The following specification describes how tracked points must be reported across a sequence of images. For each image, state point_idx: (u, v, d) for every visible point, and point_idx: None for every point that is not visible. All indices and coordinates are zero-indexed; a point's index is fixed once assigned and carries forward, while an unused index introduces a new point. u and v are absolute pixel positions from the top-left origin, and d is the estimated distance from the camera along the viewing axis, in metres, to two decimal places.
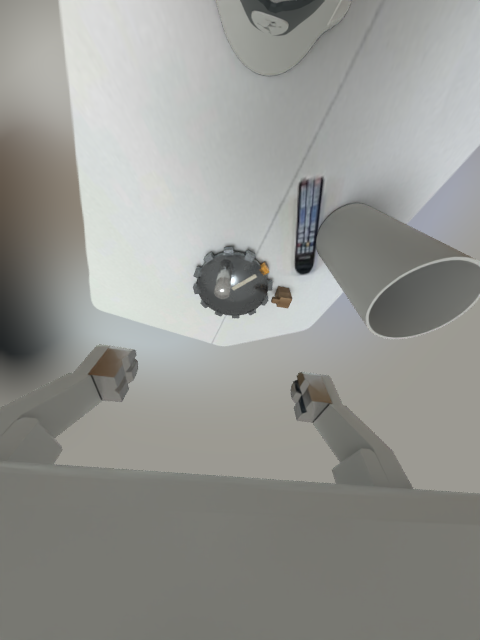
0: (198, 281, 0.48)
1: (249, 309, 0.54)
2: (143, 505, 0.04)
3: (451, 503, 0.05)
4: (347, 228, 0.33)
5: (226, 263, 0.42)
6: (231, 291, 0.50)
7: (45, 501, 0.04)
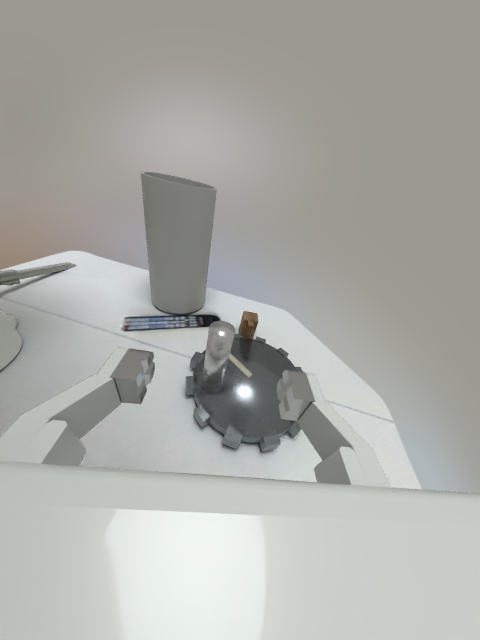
0: (249, 434, 0.24)
1: (278, 354, 0.36)
2: (143, 505, 0.04)
3: (451, 503, 0.05)
4: (156, 272, 0.38)
5: (202, 375, 0.27)
6: (255, 377, 0.31)
7: (45, 501, 0.04)
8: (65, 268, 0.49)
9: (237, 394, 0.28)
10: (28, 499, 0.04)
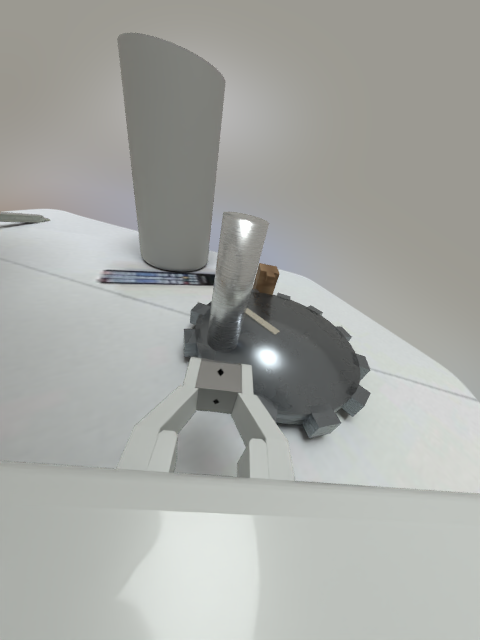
0: (289, 409, 0.15)
1: (310, 312, 0.27)
2: (143, 505, 0.04)
3: (451, 503, 0.05)
4: (144, 206, 0.29)
5: (209, 322, 0.17)
6: (284, 335, 0.22)
7: (45, 501, 0.04)
8: (35, 220, 0.39)
9: (261, 354, 0.19)
10: (28, 499, 0.04)
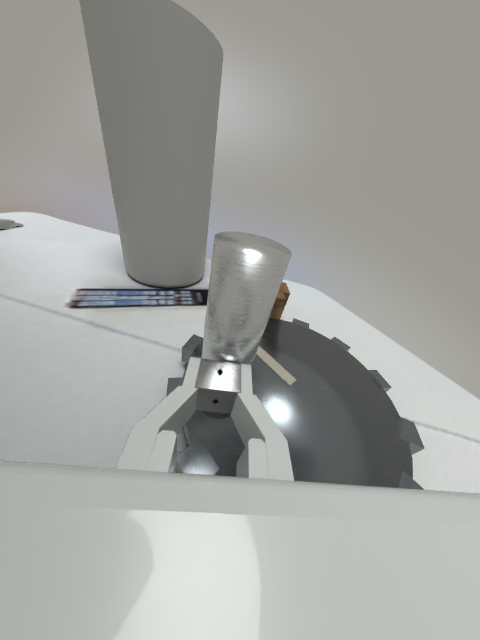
0: None
1: (334, 347, 0.21)
2: (143, 505, 0.04)
3: (451, 503, 0.05)
4: (124, 211, 0.23)
5: None
6: (302, 386, 0.16)
7: (45, 501, 0.04)
8: (4, 226, 0.34)
9: None
10: (28, 499, 0.04)
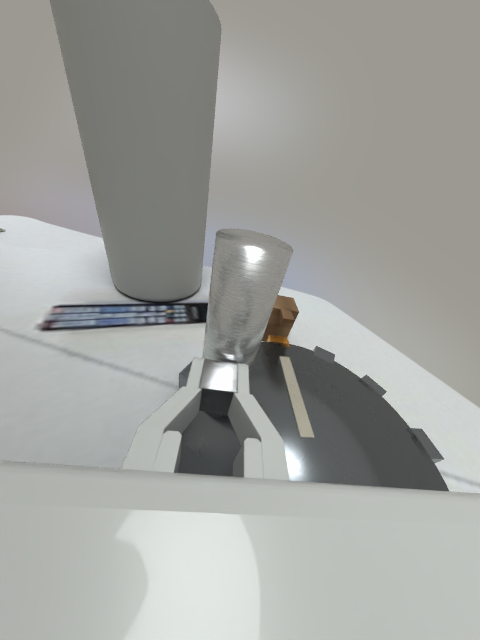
0: None
1: (410, 441, 0.14)
2: (143, 505, 0.04)
3: (451, 503, 0.05)
4: (105, 217, 0.20)
5: None
6: (317, 449, 0.12)
7: (45, 501, 0.04)
8: None
9: None
10: (28, 499, 0.04)
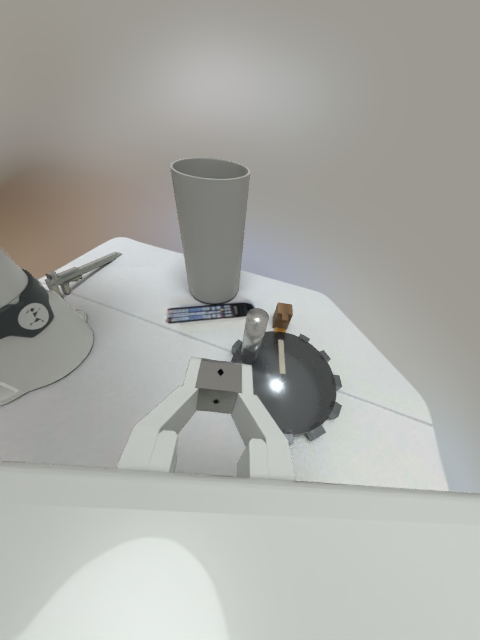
0: None
1: (329, 379, 0.33)
2: (143, 505, 0.04)
3: (451, 503, 0.05)
4: (191, 266, 0.39)
5: None
6: (285, 378, 0.32)
7: (45, 501, 0.04)
8: (114, 258, 0.54)
9: (259, 376, 0.32)
10: (28, 499, 0.04)
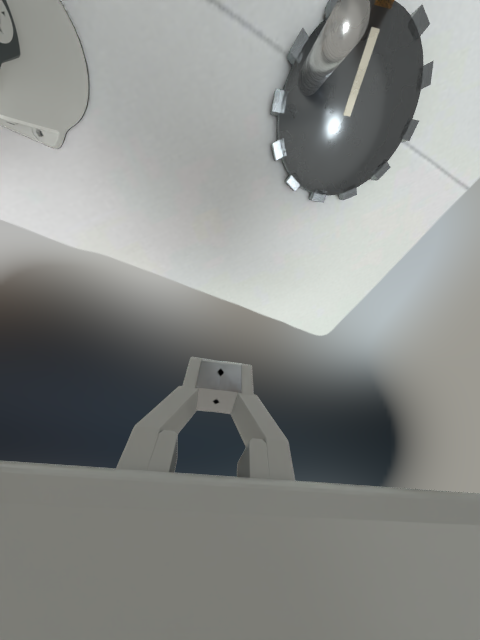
0: (287, 162, 0.29)
1: (401, 127, 0.27)
2: (143, 505, 0.04)
3: (451, 503, 0.05)
4: None
5: None
6: (347, 123, 0.26)
7: (45, 501, 0.04)
8: None
9: (315, 120, 0.26)
10: (28, 499, 0.04)
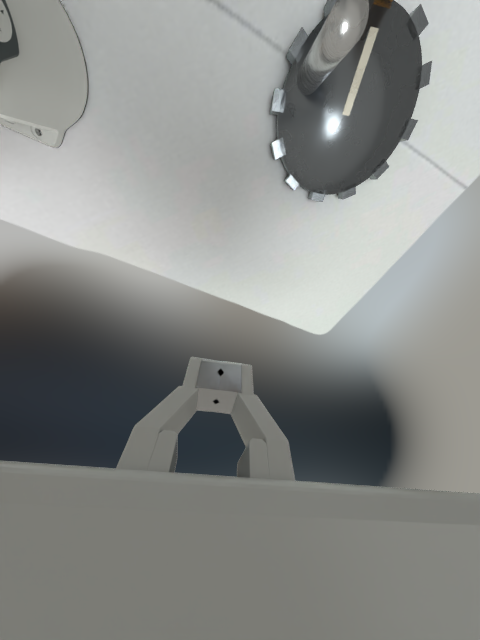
0: (286, 162, 0.29)
1: (400, 127, 0.27)
2: (143, 505, 0.04)
3: (451, 503, 0.05)
4: None
5: None
6: (346, 123, 0.27)
7: (45, 501, 0.04)
8: None
9: (314, 119, 0.26)
10: (28, 499, 0.04)
